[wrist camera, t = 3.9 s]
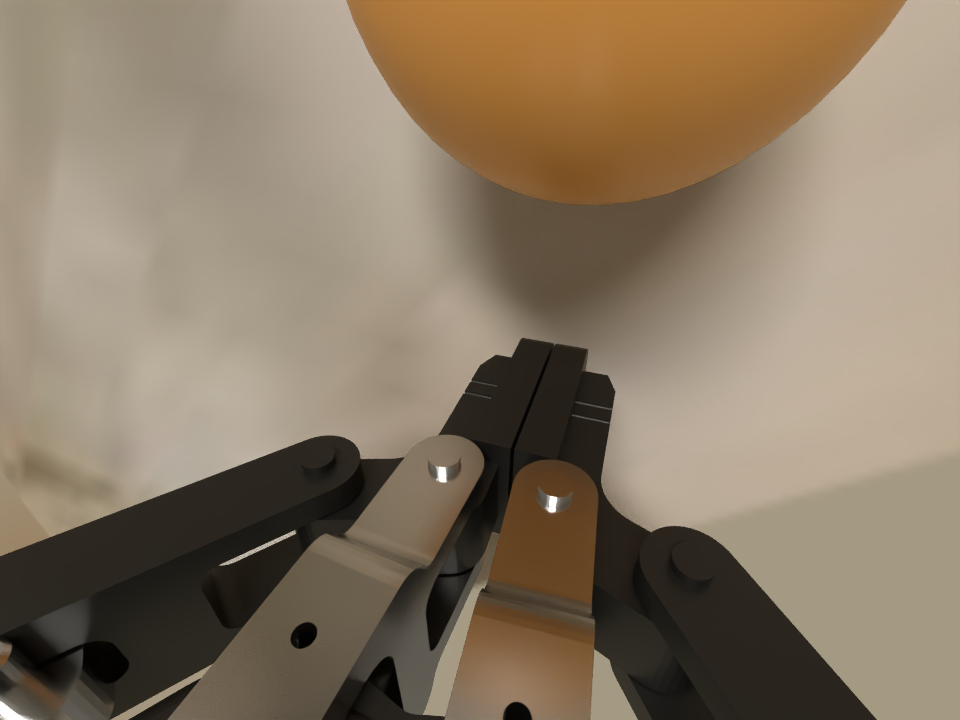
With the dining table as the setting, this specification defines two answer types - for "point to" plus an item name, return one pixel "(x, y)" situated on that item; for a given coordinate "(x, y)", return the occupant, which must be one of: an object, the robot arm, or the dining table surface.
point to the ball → (612, 83)
